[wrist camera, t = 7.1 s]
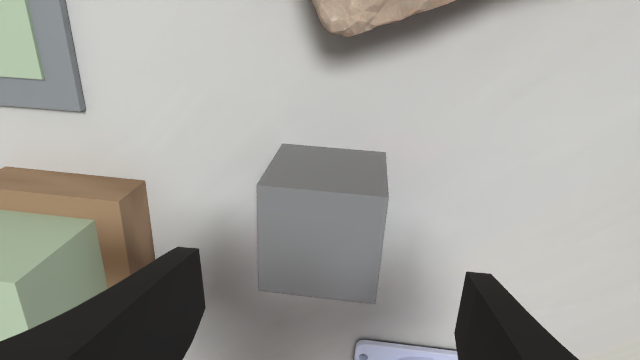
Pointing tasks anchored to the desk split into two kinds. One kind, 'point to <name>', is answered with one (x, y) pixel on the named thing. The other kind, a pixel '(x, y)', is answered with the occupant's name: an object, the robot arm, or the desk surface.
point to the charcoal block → (322, 222)
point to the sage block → (45, 268)
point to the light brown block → (89, 211)
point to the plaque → (38, 56)
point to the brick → (368, 13)
